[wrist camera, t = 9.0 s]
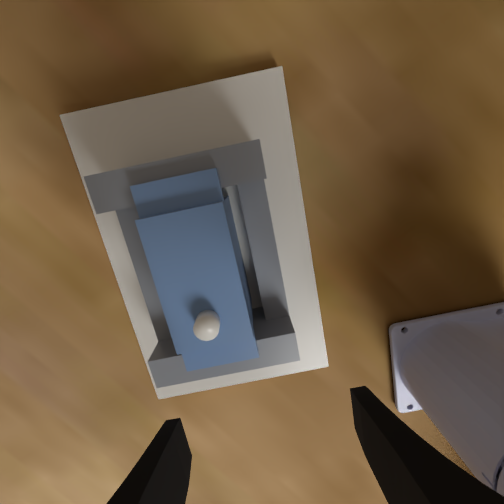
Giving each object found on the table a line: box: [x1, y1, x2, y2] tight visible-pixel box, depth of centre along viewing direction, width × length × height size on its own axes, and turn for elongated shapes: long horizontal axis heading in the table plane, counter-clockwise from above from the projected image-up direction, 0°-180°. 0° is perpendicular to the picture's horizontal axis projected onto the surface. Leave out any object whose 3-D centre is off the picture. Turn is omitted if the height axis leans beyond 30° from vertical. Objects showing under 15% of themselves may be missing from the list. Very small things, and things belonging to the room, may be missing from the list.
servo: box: [130, 168, 259, 372], centre depth 15 cm, size 4×10×6 cm, turn 12°
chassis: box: [60, 66, 329, 399], centre depth 17 cm, size 13×20×5 cm, turn 12°
